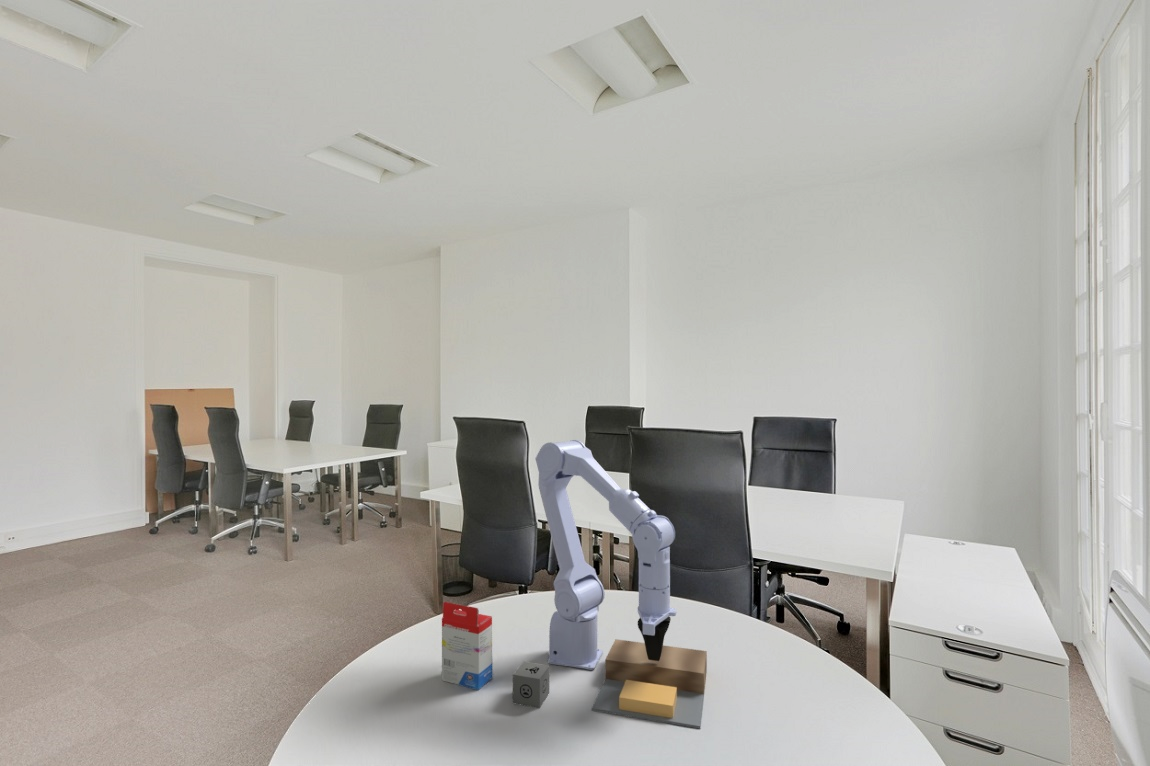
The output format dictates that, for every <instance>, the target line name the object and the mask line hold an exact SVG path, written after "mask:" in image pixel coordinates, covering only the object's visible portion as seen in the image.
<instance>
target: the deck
mask: <svg viewBox="0 0 1150 766" xmlns="http://www.w3.org/2000/svg"><path fill="white" fill-rule="evenodd" d="M707 652H708V651H707V650H701V649H694V648H685V647H679V646H678V647H677V646H670V645H664V644H663V648H662V653H661V657H660V660H659V661H654V660H648V657H647V652H646V647H645V642H639V641H634V640H633V641H632V640H626V639H625V640H624V639H617V638H616V639H614V642H613V644H612V645H611V647H610V649H609V651H608V654H607V655H606V657H605V659H604V660H605V661H604V663H605V664H604V666H605V669H604V671H605V672H604V673H605V675H604V676H605V677H604V680H605V679H609V680H615V681H622V682H625V681H626V680H631V681H638V682H644V683H651V684H658V685H664V686H671V687H677V690H681V691H688V692H694V693H701V694H704V695H705V692H706V691H705V690H706V682H707V671H708V670H707V669H708V668H707V662H708V658H707V657H708V656H707Z"/></svg>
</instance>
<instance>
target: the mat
mask: <svg viewBox="0 0 1150 766" xmlns="http://www.w3.org/2000/svg"><path fill="white" fill-rule="evenodd" d="M624 684H625V682H622V681H615V680H609V679H605V678H604V681H603V683H602V685H601V687H600V688H599V689H600V690H599V691H598V693H597V696H596V698H595V699H594V702H593V704H592V706H591V711H594V712H599V713H605V714H611V715H617V716H622V717H623V716H624V717H630V718H635V719H642V720H647V721H653V722H658V723H659V722H660V723H663V724H664V723H665V724H669V725H677V726H682V727H687V728H688V727H689V728H695V729H701V726H702V725H701V724H702V717H703V709H704V707H703V706H704V698H705V693H704V694H701V693H694V692H688V691H681V690H677V701H676V706H675V711H674V716H673V718H669V717H663V716H657V715H651V714H645V713H639V712H633V711H627V710H621V709H619V696H620V694H621V691H622V689H623V686H624Z"/></svg>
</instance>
